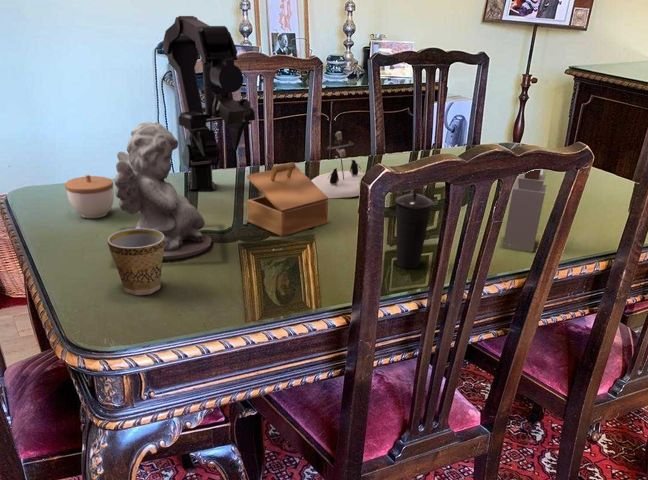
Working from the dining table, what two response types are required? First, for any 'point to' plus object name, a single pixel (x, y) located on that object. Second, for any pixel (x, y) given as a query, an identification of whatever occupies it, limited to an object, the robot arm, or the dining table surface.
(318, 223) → the chest
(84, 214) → the trinket box
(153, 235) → the ceramic cup
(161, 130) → the angel statue
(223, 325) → the dining table surface
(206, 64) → the robot arm
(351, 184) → the figurine
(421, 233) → the drinking cup
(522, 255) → the dining table surface
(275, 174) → the lid
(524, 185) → the perfume bottle
